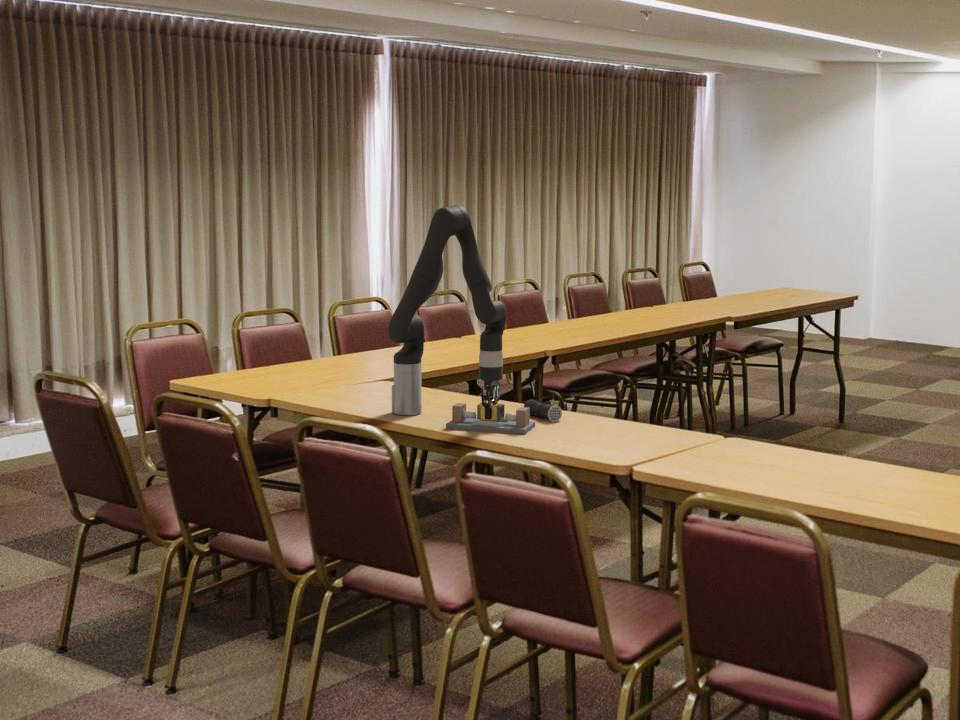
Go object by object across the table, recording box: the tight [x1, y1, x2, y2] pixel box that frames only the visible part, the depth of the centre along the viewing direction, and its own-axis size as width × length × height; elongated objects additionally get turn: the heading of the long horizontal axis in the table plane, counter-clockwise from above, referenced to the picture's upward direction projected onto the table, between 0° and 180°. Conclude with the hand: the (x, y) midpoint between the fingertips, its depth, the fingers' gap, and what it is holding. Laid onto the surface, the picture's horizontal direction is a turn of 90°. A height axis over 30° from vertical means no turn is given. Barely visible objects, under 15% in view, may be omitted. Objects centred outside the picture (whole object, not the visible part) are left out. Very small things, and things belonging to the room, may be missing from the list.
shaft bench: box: [445, 402, 536, 435], centre depth 365 cm, size 26×12×7 cm, turn 73°
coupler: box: [476, 402, 505, 421], centre depth 365 cm, size 8×4×4 cm, turn 73°
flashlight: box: [523, 398, 563, 423], centre depth 382 cm, size 15×5×5 cm, turn 32°
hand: (490, 417), depth 365 cm, fingers closed on coupler, 4 cm apart
